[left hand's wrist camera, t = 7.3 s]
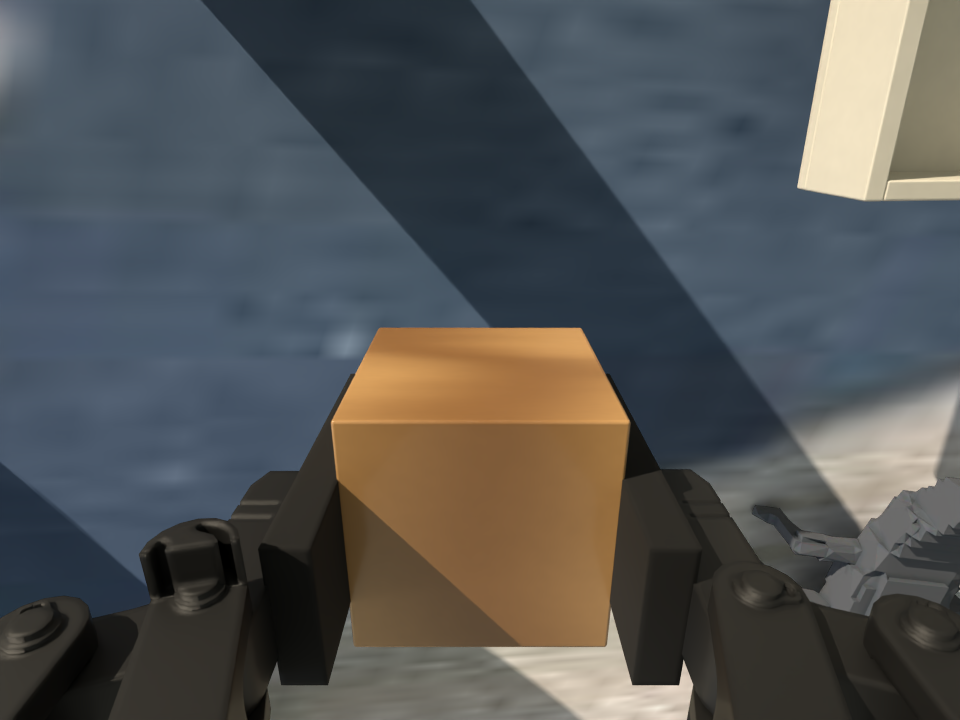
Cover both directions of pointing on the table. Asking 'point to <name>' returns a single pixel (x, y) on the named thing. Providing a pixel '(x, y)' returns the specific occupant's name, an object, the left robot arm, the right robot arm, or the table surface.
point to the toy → (887, 551)
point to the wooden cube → (480, 488)
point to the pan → (887, 103)
